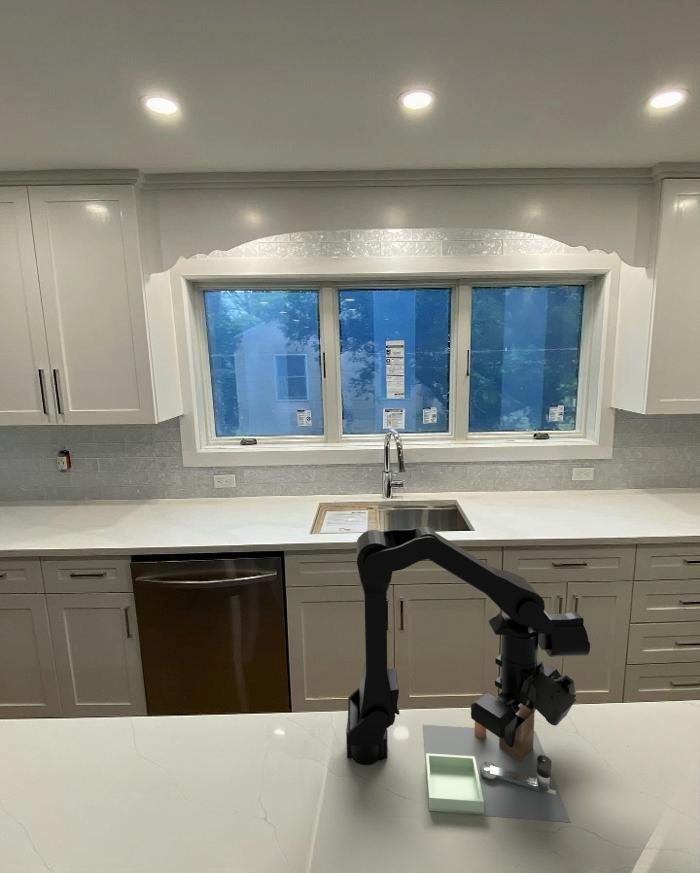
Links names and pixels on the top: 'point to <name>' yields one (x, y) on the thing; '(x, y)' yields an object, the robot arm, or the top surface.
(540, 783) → the crank
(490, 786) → the plate
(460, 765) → the tray
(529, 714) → the block
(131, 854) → the top surface
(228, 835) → the top surface
